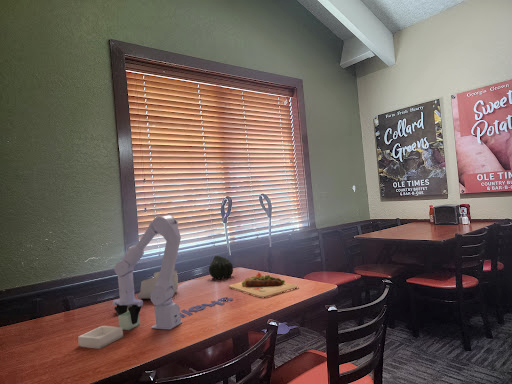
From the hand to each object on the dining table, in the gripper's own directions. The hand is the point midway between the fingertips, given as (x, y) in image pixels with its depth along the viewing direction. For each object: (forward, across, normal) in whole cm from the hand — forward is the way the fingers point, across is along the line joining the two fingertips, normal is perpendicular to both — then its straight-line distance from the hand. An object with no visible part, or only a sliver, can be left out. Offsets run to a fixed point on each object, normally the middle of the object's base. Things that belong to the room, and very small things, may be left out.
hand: (129, 323), depth 137 cm
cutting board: (+2, +33, +61) cm, 70 cm away
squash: (+2, -4, +82) cm, 82 cm away
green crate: (+2, 0, 0) cm, 2 cm away
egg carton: (+2, -19, +18) cm, 26 cm away
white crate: (+2, 0, -14) cm, 14 cm away
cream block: (+2, -20, +43) cm, 48 cm away
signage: (+2, +19, +28) cm, 34 cm away
